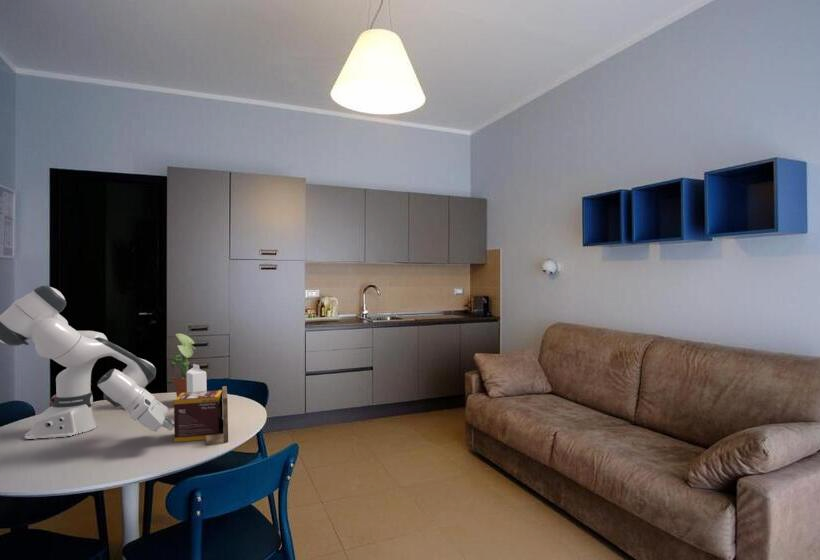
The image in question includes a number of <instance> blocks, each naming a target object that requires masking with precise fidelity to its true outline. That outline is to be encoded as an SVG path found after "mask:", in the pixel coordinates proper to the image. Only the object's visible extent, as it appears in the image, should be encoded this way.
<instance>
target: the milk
mask: <svg viewBox="0 0 820 560" xmlns="http://www.w3.org/2000/svg"><path fill="white" fill-rule="evenodd" d="M186 376H187V392H201V391H208V389H207V371H205V370H202V369H201V368H200V365H199V364H196V363H193V365H192V367H191V368H190V369H188V371H187V372H186Z"/></svg>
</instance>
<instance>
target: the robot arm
mask: <svg viewBox="0 0 820 560" xmlns="http://www.w3.org/2000/svg"><path fill="white" fill-rule="evenodd" d="M66 306H67V301H66V298H65V296H64V295H63V294H62V292H61V291H60V290H58V289H57V288H54V287H52V286H49V285H41V286H38V287H36V288H34V289H33V291H31V292H29V293H27V294H26V295H24V296H23V297H21V298H18V299H16V300H15V301H13V303H12V304H11V305H10V306H9V307H8V308H7V309H6V310H5V311H4V312H2V313H1V314H0V343H2V344H5V345H8V346H11V347H12V346H14V347H17V346H21V345H25V346H28V345H30V343H29V342H28V341H27V340H31V341H32V342H33V343H34V348H35V351H36V354H37V355H38V356H39V357H41V358H45V359H50V360H53V361H54V362H56V363H57V364H58V365H61V366H63V367H65V369H63V370H62V371H60V372H59V373H58V374H57V375H56V376H55V377H56V378H55V387H56V388H55V389H56V391H55V392H56V394H54V395H53V396H52V397H51V398H50V400H49V404H50V406H49V407H47V409H46V410H44V411H43V412H41V413H40V414H39V415H38V416H37V417H35V418H34V421H33V423H32V426H31V429H30V430H29V431H27V432H26V433H25V434H24V438H42V437H64V436H71V437H73V436H72V435H74V436H76V435H79V434H82V432H83V433H87V432H89V431H91V430H93V429H94V430H95V428H96V427H97V423H96V420H95V417H94V411H93V405H94V403H93V401H94V397H93V396H94V395H93V391H92V390H91V385H92V383H91V381H92V372H93V371H92V370H93V368H94V366H95V364H96V363H97V361H98V360H99V359H102V358H105V357H113V358H114V359H116V360H118V361H120V362H123V363H124V364H126V365H127V366H126V367H125V368H126V369H125V370H124V371H123V372H122V371H120V370H119V369H116V368H111V369H110V370H108V371H107V372H105V373H104V375H101V377H100V378H99V380H98V382H97V387H98V388H99V390H101V391H102V393H103V400H106V402H109V404H110V405H112V406H113V407H114V408H119V407H122V408H123V409H124V411H127V412H128V414H129V417H130V419H131V420H133V421H137V422H138V423H139V424H141V425H142V426H144V427H145V428H147V429H148V430H150V431H152V432H155V433H156V432H158V430H159V429H160V428H161V427H162V428H165V429H167V430H168V431H173V430H174V422H172V421H171V419H170V418H169V417H168V414H169V411H170V409H169V407H167V406H166V405H165V404H164V403H162V402H161V401H159V400H158V399H156V396H154V395H153V394H152V393H151V392H149V391H148V390H147V389H146V390H145V389H144V387H146V386H148V385H149V384H150V383H151V382H153V380H155V379H156V376H157V368H156V367H155V366H154V364H153V363H152V362H150V361H148V360H147V359H143V358H140V357H137V356H136V355H135V354H133V353H132V352H129V351H128V350H126V349H124V348H122V346H121V347H120V346H119V345H117V344H115V343H114V342H111V341H109V340H108V338H107V336H106V335H105V334H104V333H102V332H99V331H95V330H76V329H75V328H73V327H72V326H71V325H69V322H68V320H67V319H66V318H65V317H64V316H63V315H61V314H60V313H61V312H63V310H64V309H65V308H66ZM78 433H79V434H78ZM75 434H76V435H75ZM64 438H65V437H64Z"/></svg>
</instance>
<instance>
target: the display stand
mask: <svg viewBox="0 0 820 560" xmlns="http://www.w3.org/2000/svg"><path fill="white" fill-rule="evenodd" d="M221 387H222V389H221V390H222V403H223V431H222V433H221V434H215V435H207V436H206V440H205V442H206V443H205V444H206V446H209V445H216V444H217V445H218V444H223V443H224V444H225V443H229V412H228V409H229V408H228V407H229V406H228V403H229V402H228V387H227V385H225V386H221Z"/></svg>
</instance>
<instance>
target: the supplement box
mask: <svg viewBox="0 0 820 560" xmlns="http://www.w3.org/2000/svg"><path fill="white" fill-rule="evenodd" d="M173 419H174V420H173V424H174V428H173V430H174V434H173V435H174V439H173V440H174V443H179V442H181V443H182V442H192V441H206V436H207V435H215V434H223V391H222V389H217V390H207V391H201V392H187V393H181V394H180V395H179V396H178V397H177V396H176V398H174V400H173Z"/></svg>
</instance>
